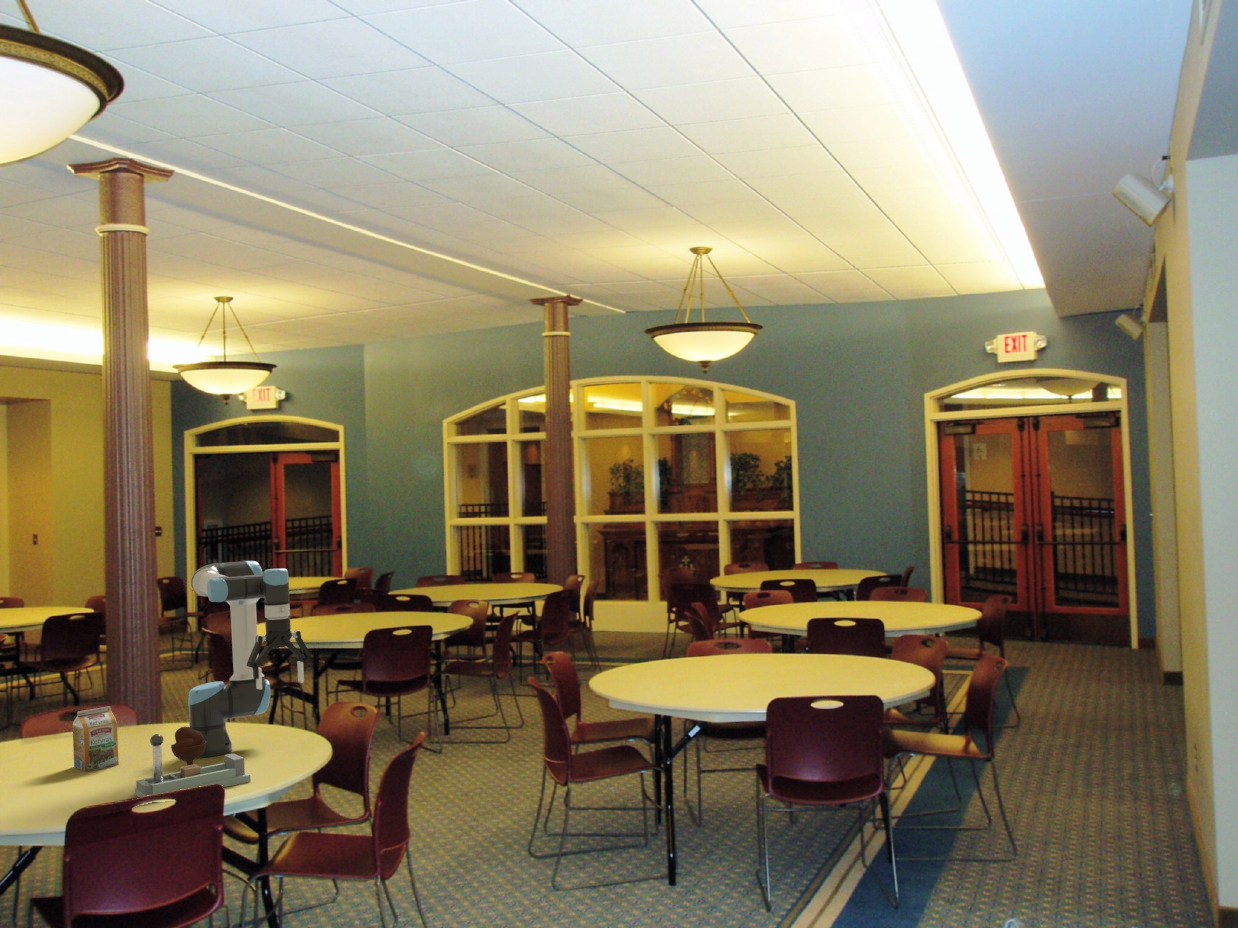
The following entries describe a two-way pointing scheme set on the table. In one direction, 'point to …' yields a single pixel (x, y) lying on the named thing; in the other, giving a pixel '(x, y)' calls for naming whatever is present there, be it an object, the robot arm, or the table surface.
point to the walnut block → (189, 771)
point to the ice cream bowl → (188, 745)
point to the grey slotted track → (199, 778)
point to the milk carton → (95, 739)
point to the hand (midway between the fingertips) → (280, 685)
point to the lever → (158, 760)
